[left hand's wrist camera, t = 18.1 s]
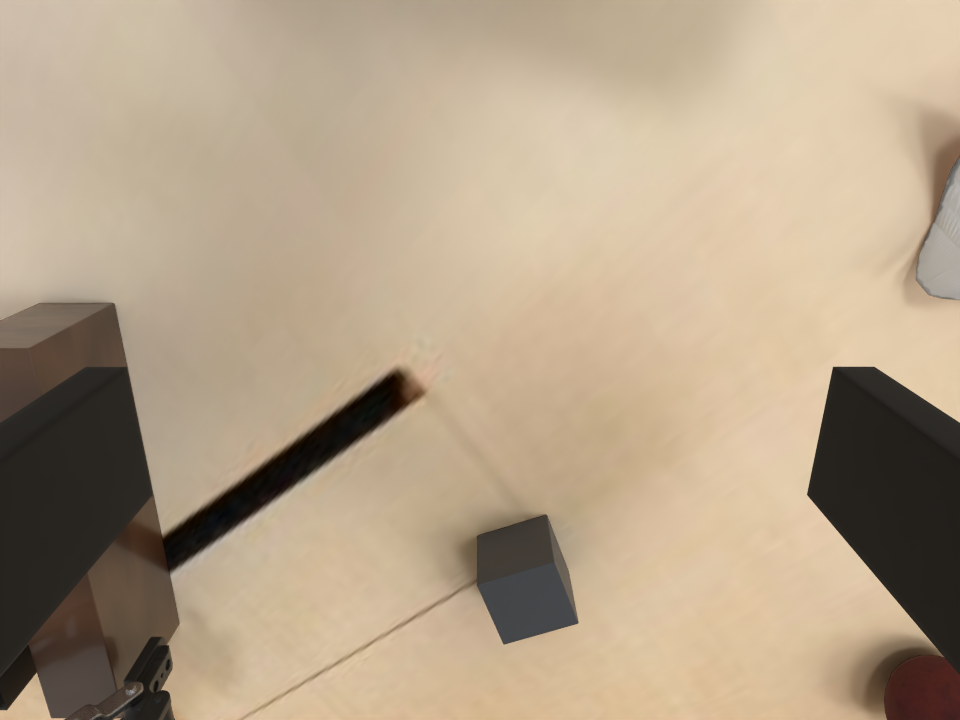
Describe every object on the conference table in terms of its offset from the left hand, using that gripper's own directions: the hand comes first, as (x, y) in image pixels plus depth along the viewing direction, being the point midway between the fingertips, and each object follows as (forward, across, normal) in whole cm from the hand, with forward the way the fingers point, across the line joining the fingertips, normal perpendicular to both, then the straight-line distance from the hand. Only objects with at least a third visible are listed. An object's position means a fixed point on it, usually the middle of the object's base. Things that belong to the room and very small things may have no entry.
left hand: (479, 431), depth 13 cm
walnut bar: (+27, -24, -17) cm, 40 cm away
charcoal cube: (+27, +3, -23) cm, 35 cm away
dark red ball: (+27, +32, -34) cm, 54 cm away
